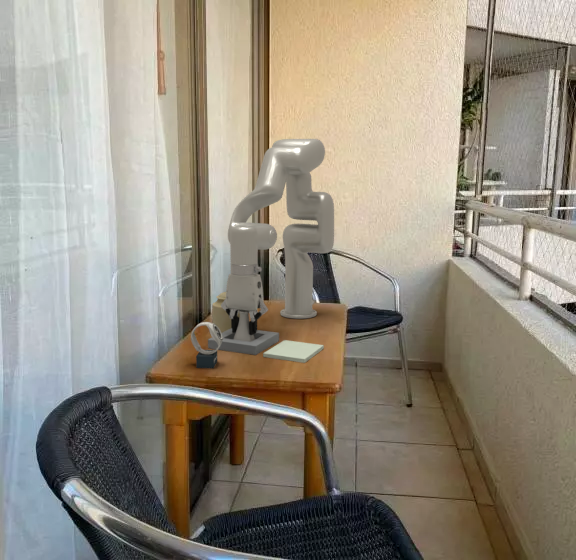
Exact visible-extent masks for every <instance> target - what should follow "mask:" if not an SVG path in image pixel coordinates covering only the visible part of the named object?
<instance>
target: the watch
mask: <svg viewBox="0 0 576 560" xmlns="http://www.w3.org/2000/svg"><path fill="white" fill-rule="evenodd" d="M201 326H206V327H207V328H208V331H209V334H210V335H211V338H213V339H214V340H215V341H216V342H217V344H218V345H219V346H218V347H217V348H216V349H203V348H202V346H201V345H200V343H199V341H198V340H197V336H196V334H195V331H196V330H197V328H199V327H201ZM190 341H191V343H192V346H193V347H194V349H195V351H197V352H198V353H197V354H196V357H195V361H196V363H195V365H196V369H215V367H216V365H217V363H218V351H219V350H218V349H219V347H220V345H221V343H222V341H223V336H222V333H221V331H220V329H219V328H218V326H217V325H216V324H213V322H210V321H204V322H203V321H202V322H200V323H198V324H197V325H196V326H195V327H194V328H193V329H192V331H191V334H190Z"/></svg>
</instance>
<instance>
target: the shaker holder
mask: <svg viewBox="0 0 576 560" xmlns="http://www.w3.org/2000/svg"><path fill="white" fill-rule="evenodd" d="M235 333H236V332H235ZM235 333H232V328H231V329H229V330H227V331H225V332H223V333H222V336H223V341H222V343H221V345H220V347H219V349H218V350H217V351H219V350H220V351H226V352H233V353H239V354H240V353H241V354H247V355H253V356H257V355H258V354H260V353H262V352H263V351H265V350H267V349H268V348H271V346H272V347H273V345H275V344H277V343H278V342H280V332H276V331H275V332H274V331H267V330H261V329H260V330H259V329H257V331H256V333H255V334H253V335H254V338H255V340H254V341H252V342H248V341H240V340H233V339H234V336H235ZM218 346H219V345H218V344H217V342H216V341H215V340H214V339H213V338H212V337H210V338H208V339H207V348H208V349H210V350H215V349H216V348H217V347H218Z"/></svg>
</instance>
